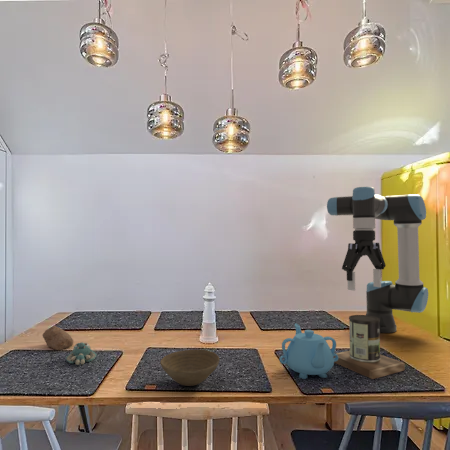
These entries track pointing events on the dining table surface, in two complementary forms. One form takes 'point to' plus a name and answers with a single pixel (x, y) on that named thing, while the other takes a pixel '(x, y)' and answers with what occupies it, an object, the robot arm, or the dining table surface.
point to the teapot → (309, 353)
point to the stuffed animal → (81, 354)
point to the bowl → (190, 366)
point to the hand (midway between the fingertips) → (364, 288)
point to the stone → (57, 338)
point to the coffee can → (364, 338)
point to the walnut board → (370, 365)
